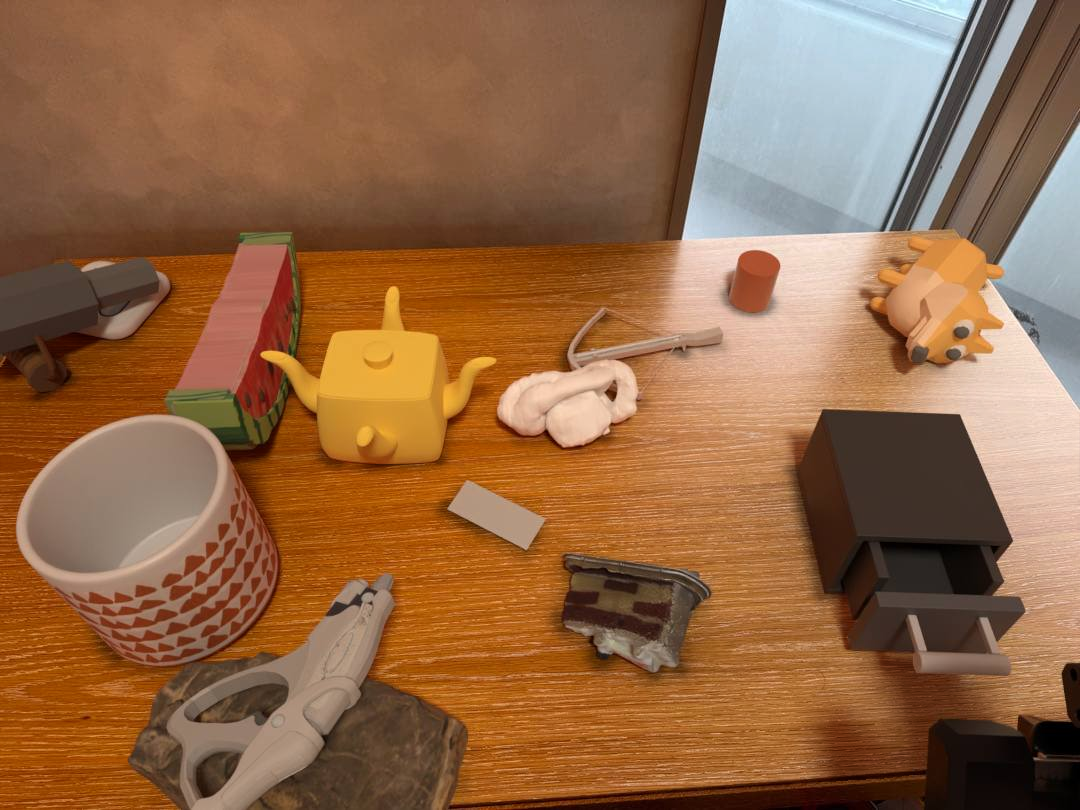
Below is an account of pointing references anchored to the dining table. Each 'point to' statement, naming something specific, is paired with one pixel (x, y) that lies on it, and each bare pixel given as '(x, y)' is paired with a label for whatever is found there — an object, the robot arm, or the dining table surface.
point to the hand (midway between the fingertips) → (1023, 722)
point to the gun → (310, 709)
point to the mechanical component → (62, 310)
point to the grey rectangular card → (496, 514)
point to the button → (125, 310)
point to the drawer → (931, 605)
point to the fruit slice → (244, 346)
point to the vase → (150, 539)
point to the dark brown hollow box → (894, 486)
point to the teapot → (382, 392)
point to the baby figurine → (570, 402)
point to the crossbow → (637, 346)
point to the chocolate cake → (632, 607)
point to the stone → (341, 765)
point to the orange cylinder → (754, 280)
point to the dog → (940, 300)
